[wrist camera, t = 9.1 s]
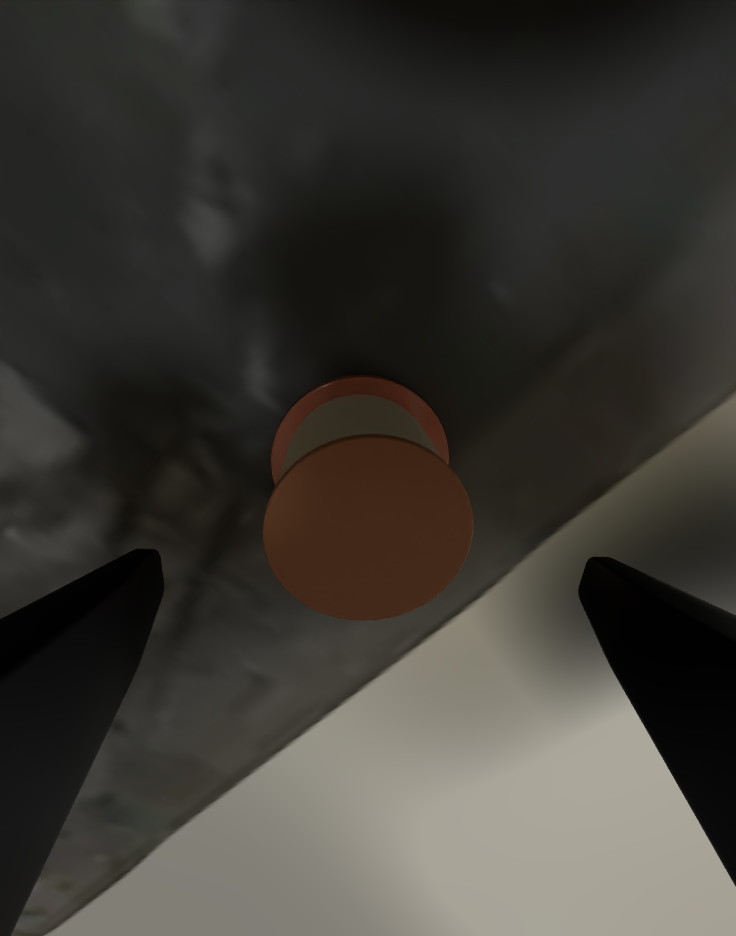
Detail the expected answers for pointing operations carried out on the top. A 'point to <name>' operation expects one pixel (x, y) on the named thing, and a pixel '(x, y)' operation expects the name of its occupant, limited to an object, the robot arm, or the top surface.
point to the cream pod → (365, 512)
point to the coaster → (350, 387)
